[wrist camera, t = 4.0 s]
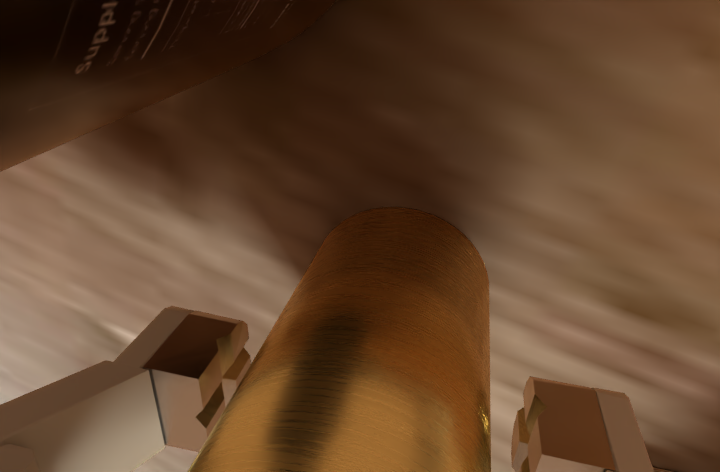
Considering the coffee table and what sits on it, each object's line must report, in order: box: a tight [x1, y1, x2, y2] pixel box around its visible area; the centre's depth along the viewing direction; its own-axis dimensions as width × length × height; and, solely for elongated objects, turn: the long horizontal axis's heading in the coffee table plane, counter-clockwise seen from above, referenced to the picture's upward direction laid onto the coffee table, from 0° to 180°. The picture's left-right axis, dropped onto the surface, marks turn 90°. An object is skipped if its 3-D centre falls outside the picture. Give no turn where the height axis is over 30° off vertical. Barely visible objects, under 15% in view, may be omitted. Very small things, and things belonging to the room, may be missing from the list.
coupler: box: [188, 207, 491, 472], centre depth 8 cm, size 4×4×7 cm
